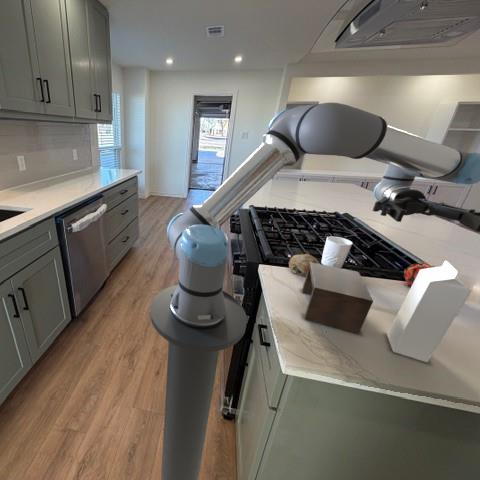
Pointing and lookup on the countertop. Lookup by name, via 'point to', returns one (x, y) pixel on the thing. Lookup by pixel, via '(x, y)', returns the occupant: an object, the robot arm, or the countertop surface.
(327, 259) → the white cup
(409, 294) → the milk
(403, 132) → the robot arm
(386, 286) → the countertop surface
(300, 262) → the tan rounded lump
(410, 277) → the dragon fruit
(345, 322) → the dark wooden crate
